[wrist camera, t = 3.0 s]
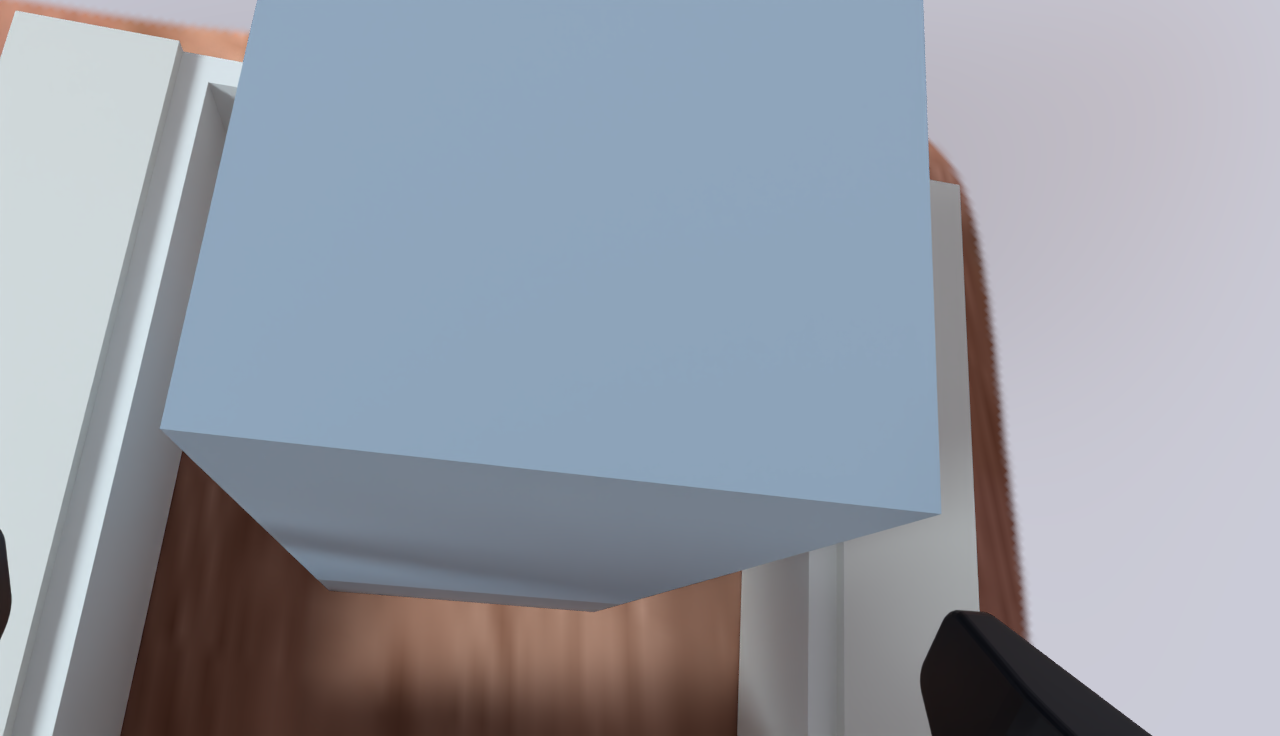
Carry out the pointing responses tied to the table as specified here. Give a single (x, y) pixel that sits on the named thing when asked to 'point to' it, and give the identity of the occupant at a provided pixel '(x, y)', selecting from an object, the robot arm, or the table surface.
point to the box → (567, 292)
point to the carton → (149, 460)
